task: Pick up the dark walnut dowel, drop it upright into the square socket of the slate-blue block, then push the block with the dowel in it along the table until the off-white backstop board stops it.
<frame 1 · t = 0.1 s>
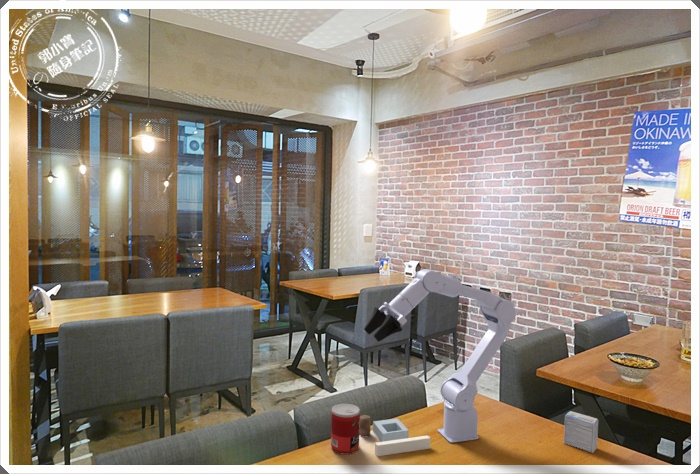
hand: (370, 335, 125), 32 cm above the table, tool tilted 50°, fingers open, 7 cm apart
medicine box: (580, 446, 131), on the table
backstop: (402, 450, 126), on the table
block: (390, 435, 134), on the table
canned food: (344, 448, 127), on the table
dowel: (364, 434, 135), on the table
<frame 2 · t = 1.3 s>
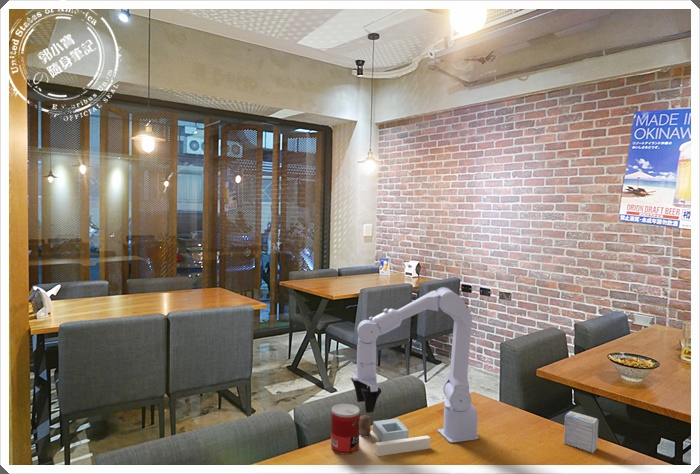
hand: (365, 406, 134), 8 cm above the table, tool pointing down, fingers open, 7 cm apart
nothing on the table moved.
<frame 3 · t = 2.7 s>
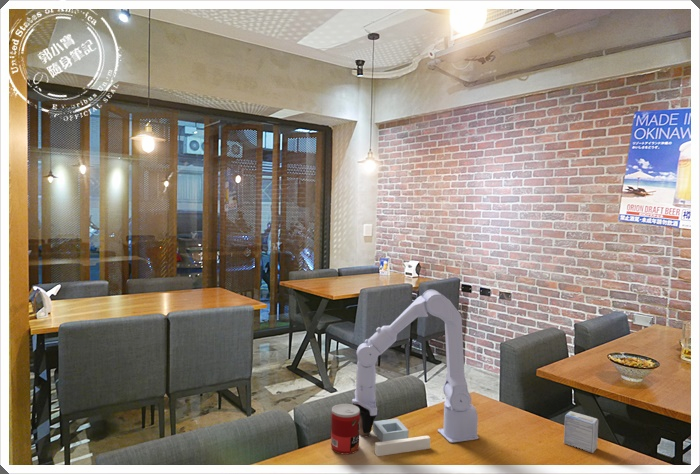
hand: (364, 429, 135), 1 cm above the table, tool pointing down, fingers closed on dowel, 3 cm apart
dowel: (364, 433, 135), on the table, touching gripper
everything else where it was.
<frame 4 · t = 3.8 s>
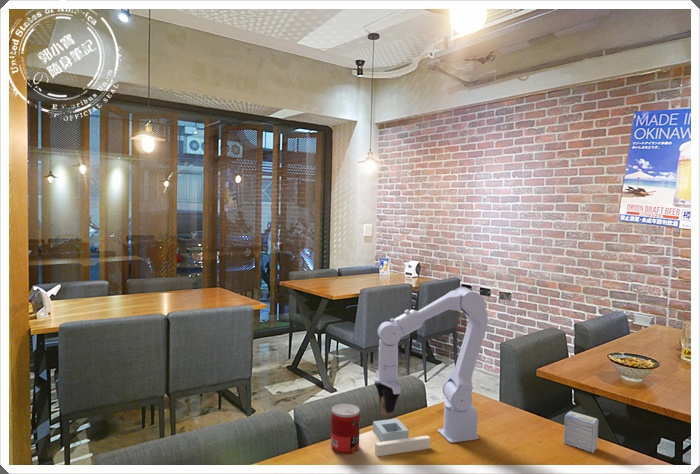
hand: (387, 409, 133), 8 cm above the table, tool pointing down, fingers closed on dowel, 3 cm apart
dowel: (386, 414, 133), point 7 cm above the table, touching gripper
everything else where it was.
when the fingers open (4 cm above the table, at t = 5.2 s): dowel drops 2 cm, resting in block.
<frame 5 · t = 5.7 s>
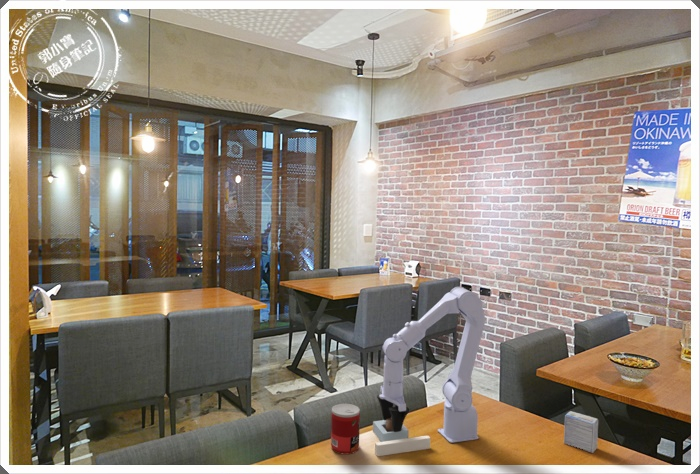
hand: (391, 425, 133), 4 cm above the table, tool pointing down, fingers open, 7 cm apart
dowel: (391, 437, 133), resting in block
everything else where it was.
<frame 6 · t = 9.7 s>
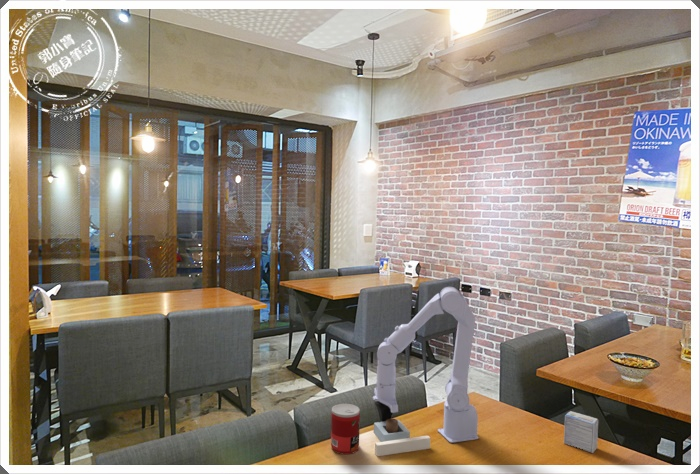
hand: (384, 425, 138), 1 cm above the table, tool pointing down, fingers closed
block: (391, 437, 133), on the table, touching dowel, gripper
dowel: (391, 437, 133), resting in block
everything else where it was.
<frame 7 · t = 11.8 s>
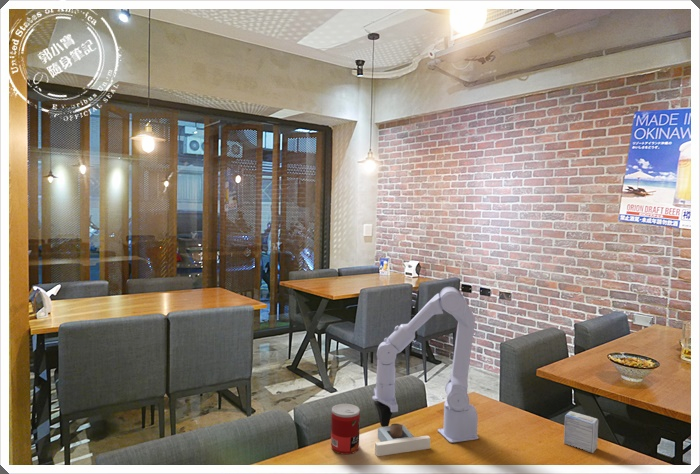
hand: (384, 425, 138), 1 cm above the table, tool pointing down, fingers closed
block: (395, 442, 130), on the table
dowel: (396, 443, 130), resting in block
everything else where it was.
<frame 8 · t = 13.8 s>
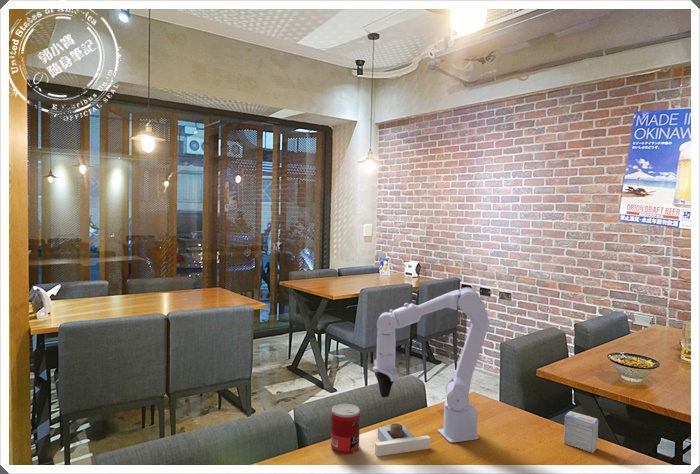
hand: (384, 396, 138), 10 cm above the table, tool pointing down, fingers closed
nothing on the table moved.
at the end: block 0.5 cm from the target spot on the table beside the backstop, on the table; dowel 0.7 cm from the target spot on the block, point 0.0 cm above the block's base; dowel tilted 0° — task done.
